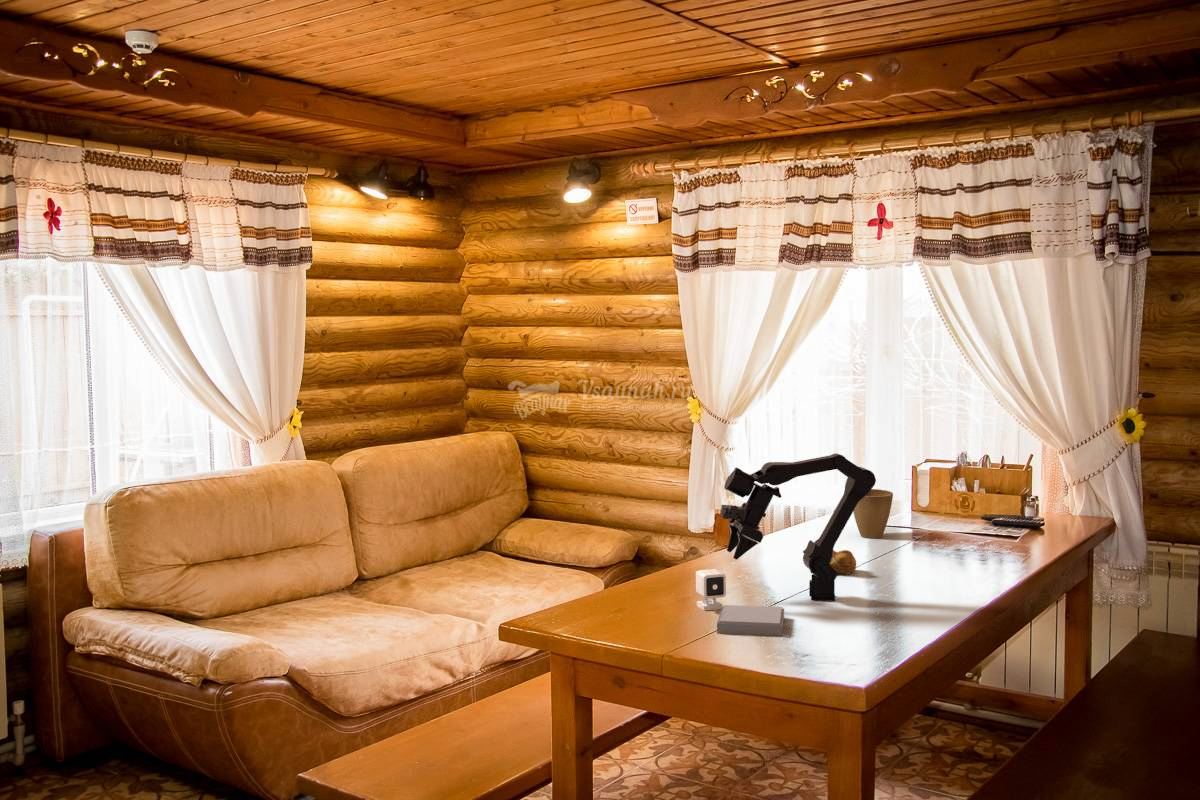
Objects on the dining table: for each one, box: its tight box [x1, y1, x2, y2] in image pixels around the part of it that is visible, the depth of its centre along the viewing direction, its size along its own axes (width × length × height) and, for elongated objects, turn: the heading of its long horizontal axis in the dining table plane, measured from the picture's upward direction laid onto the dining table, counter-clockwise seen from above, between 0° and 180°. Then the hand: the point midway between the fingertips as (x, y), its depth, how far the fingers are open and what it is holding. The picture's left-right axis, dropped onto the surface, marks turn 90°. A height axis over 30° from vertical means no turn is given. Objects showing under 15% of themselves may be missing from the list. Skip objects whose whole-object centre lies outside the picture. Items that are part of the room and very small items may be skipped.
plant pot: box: [852, 488, 894, 539], centre depth 374 cm, size 15×15×16 cm
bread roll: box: [830, 549, 857, 576], centre depth 323 cm, size 13×10×8 cm
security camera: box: [695, 568, 727, 611], centre depth 285 cm, size 6×7×10 cm
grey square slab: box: [716, 604, 785, 637], centre depth 269 cm, size 16×16×3 cm
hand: (731, 555), depth 291 cm, fingers open, 9 cm apart
